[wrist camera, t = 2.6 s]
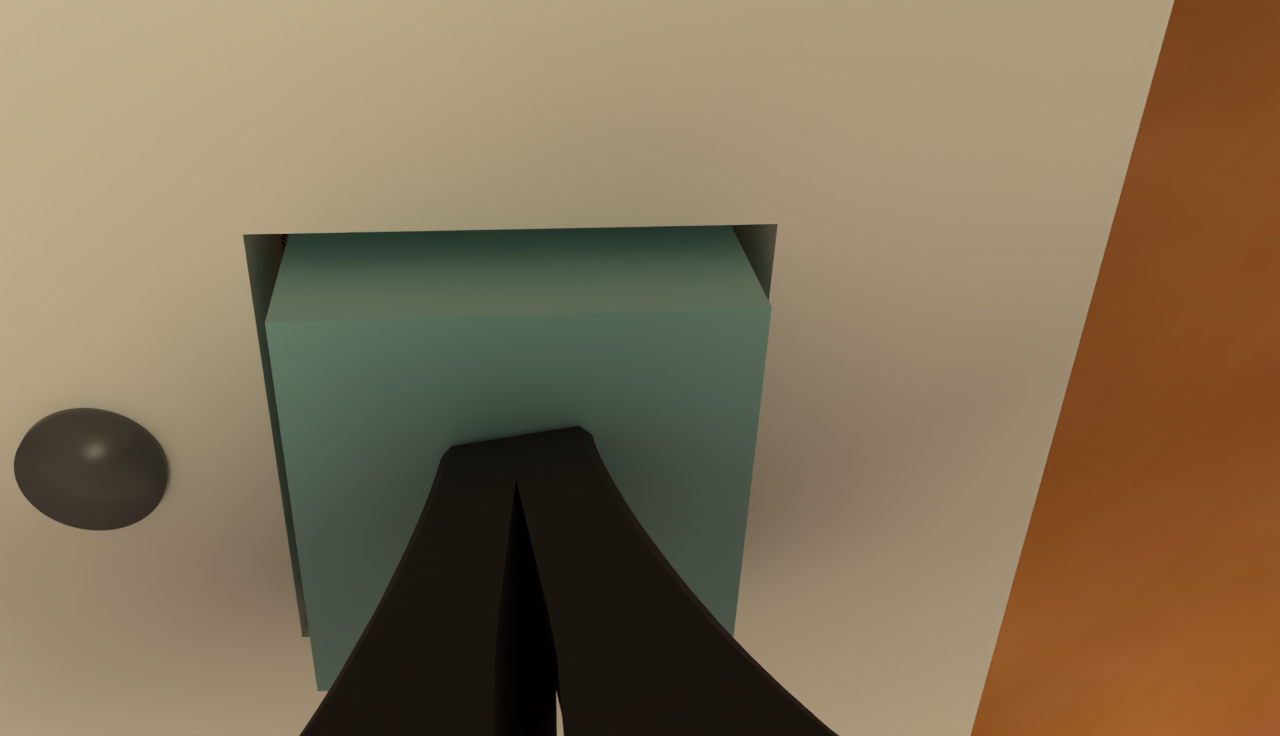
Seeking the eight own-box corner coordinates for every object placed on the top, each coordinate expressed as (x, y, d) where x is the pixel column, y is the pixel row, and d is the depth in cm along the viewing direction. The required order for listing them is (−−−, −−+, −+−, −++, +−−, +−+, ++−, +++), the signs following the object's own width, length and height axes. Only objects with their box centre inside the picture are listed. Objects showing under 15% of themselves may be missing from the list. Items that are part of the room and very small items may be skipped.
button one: (708, 178, 13) (772, 307, 10) (684, 492, 15) (731, 660, 13) (302, 184, 12) (264, 323, 10) (339, 511, 15) (317, 691, 12)
